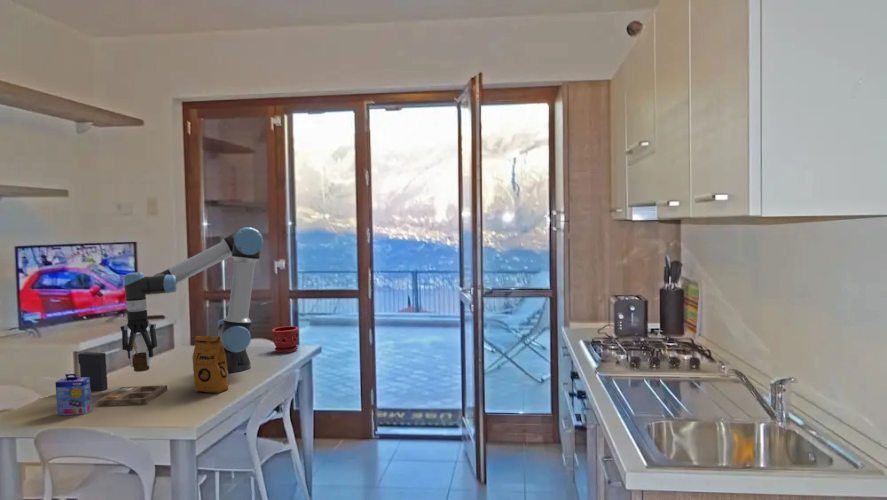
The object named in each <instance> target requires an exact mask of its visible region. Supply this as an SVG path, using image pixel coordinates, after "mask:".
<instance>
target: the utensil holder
mask: <svg viewBox="0 0 887 500" xmlns="http://www.w3.org/2000/svg"><path fill="white" fill-rule="evenodd" d="M137 349H138V346H137V344H136V341H135V340H134V344H133V350H135V354H134V359H133V366H134V367H133V372H136V373H137V372H138V373H140V372H147V371H149V370H150V366H147V357H146V350H144V351H140V352H138V351H137Z"/></svg>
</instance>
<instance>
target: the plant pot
mask: <svg viewBox="0 0 887 500" xmlns="http://www.w3.org/2000/svg"><path fill="white" fill-rule="evenodd" d="M271 334H272V340H273V344H274V346H275V348H274V350H275V352H277V353H278V354H279V353H281V354H287V353H293V352H295V351H297V350H298V349H299V346H298V345H297V344H298V342H299V336H300V335H299V327H298V326H291V325H290V326H288V325H287V326H280V327H279V326H277V327H275V328H272V331H271Z"/></svg>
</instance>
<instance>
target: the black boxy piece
mask: <svg viewBox="0 0 887 500" xmlns="http://www.w3.org/2000/svg"><path fill="white" fill-rule="evenodd" d="M106 356H107V355H106V352H94V351H93V352H91V351H89V352H88V351H86V352H80V353H78V355H77V362H78V364H79V370H80V371H79V373H80V378H83V377H89V378H90V389H91V391H97V392H102V391H105V390H107V389H108V385H109V384H108V373H107V372H108V370H107V368H108V367H107V357H106Z"/></svg>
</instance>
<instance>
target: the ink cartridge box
mask: <svg viewBox="0 0 887 500" xmlns="http://www.w3.org/2000/svg"><path fill="white" fill-rule="evenodd" d="M64 376H65V378H60V379H59V380H56V381H55V383H54V384H55V395H56V397H55V398H56V411H57V416H68V415H70V416H72V415H73V416H74V414H75V415H86V414H88V413H90V412H91V411H93V404H92V390H91V389H90V378H89V377H83V378H81V377H78V376H77V374H76V373H68V374H67V373H65V374H64Z"/></svg>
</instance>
